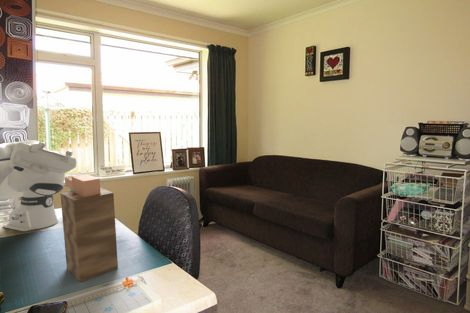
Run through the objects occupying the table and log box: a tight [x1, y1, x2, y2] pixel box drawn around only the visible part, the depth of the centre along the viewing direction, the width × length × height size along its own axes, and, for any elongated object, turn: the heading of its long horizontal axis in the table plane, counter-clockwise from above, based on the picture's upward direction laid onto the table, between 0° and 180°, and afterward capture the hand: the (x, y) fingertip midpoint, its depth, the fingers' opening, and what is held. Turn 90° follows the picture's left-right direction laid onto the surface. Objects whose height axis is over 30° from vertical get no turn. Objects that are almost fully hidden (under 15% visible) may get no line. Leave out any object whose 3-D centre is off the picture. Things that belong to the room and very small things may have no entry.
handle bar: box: [64, 174, 101, 197], centre depth 103 cm, size 20×5×5 cm, turn 46°
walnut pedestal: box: [60, 187, 119, 283], centre depth 102 cm, size 12×12×26 cm
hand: (57, 148), depth 108 cm, fingers open, 8 cm apart
